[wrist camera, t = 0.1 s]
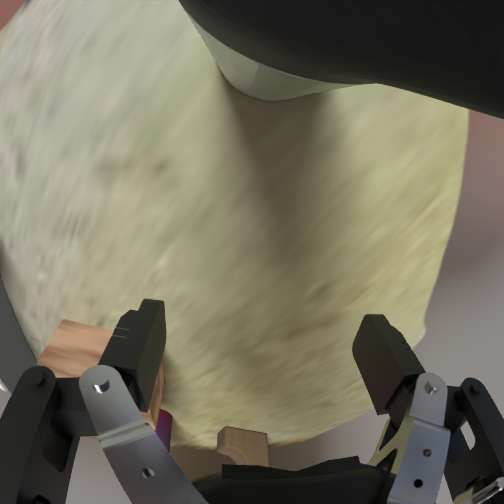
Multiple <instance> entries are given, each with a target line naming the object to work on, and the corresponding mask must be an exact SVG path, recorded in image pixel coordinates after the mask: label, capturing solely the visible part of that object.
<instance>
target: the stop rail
mask: <svg viewBox="0 0 504 504" xmlns="http://www.w3.org/2000/svg"><path fill="white" fill-rule="evenodd" d="M33 366H38V365H37V360H36V358H35V356H34V354H33V352H32V351H31V349H30V347H29V345H28V343H27V341H26V338H25V336H24V334H23V332H22V330H21V328H20V326H19V323H18V321H17V319H16V316H15V314H14V312H13V309H12V307H11V304H10V302H9V299H8V296H7V294H6V291H5V288H4V286H3V283H2V280H1V277H0V389H2V390H4V391H5V392H6V394H7V395H8V396H9V397H11V395H12V393H13V391H14V389H15V387H16V385H17V383H18V381H19V379H20V377H21V376H22V374H23V373H24V372H25V371H26V370H27V369H29V368H31V367H33Z"/></svg>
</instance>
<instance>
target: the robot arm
mask: <svg viewBox="0 0 504 504" xmlns="http://www.w3.org/2000/svg"><path fill="white" fill-rule="evenodd" d="M179 2H180V3H181V5H182V6H183V8H184V10H185V11H186V13H187V15H188V16H189V18H190V19H191V21H192V23H193V24H194V26H195V28H196V29H197V31H198V33H199V34H200V35H201V37H202V39H203V40H204V42H205V44H206V45H207V47H208V49H209V51H210V52H211V54H212V56H213V58H214V59H215V61H216V63H217V65H218V67H219V68H220V70H221V72H222V73H223V75H224V77H225V78H226V80H227V81H228V82H229V83H230V84H231V85H232V86H233V87H235V88H236V89H237V90H239V91H240V92H242V93H244V94H246V95H248V96H250V97H253V98H257V99H261V100H270V101H280V100H287V99H292V98H295V97H299V96H304V95H308V94H313V93H317V92H322V91H327V90H333V89H338V88H344V87H350V86H356V85H363V84H374V83H378V84H383V85H388V86H392V87H396V88H400V89H404V90H407V91H411V92H415V93H418V94H421V95H425V96H428V97H432V98H435V99H438V100H441V101H445V102H448V103H451V104H454V105H457V106H461V107H464V108H468V109H471V110H474V111H477V112H481V113H484V114H488V115H491V116H494V117H498V118H501V119H504V0H179ZM406 342H407V341H406V340H405V338H404V337H403V335H402V334H401V333H400V332H399V331H398V330H397V329H396V328H395V327H393V326H391V325H390V323H389V322H388V320H387V319H386V317H385V316H384V315H383V314H367V315H365V316H364V318H363V320H362V322H361V325H360V327H359V330H358V332H357V335H356V337H355V340H354V342H353V347H352V352H353V357H354V359H355V361H356V364H357V366H358V368H359V371H360V373H361V375H362V378H363V380H364V383H365V385H366V388H367V390H368V392H369V395H370V397H371V400H372V402H373V405H374V407H375V410H376V412H377V415H382V414H387V413H389V416H390V418H389V419H388V420H387V422H386V424H385V427H384V429H383V432H382V434H381V437H380V440H379V442H378V444H377V447H376V449H375V452H374V454H373V456H372V458H371V459H370V461H369V462H368V463H367V464H361V463H360V461H359V457H358V456H353V457H347V458H341V459H334V460H328V461H325V462H322V463H320V464H317V465H314V466H311V467H308V468H305V469H302V470H299V471H288V470H281V469H276V468H271V467H265V466H260V465H229V464H228V465H227V464H222V469H221V472H216V473H211V474H207V475H204V476H201V477H199V478H196V479H194V480H192V481H190V480H189V479H188V478H187V477H186V475H185V474H184V473H183V471H182V470H181V469H180V467H179V466H178V465H177V463H176V462H175V460H174V459H173V458H172V456H171V455H170V453H169V452H168V450H167V449H166V448H165V446H164V445H163V443H162V442H161V440H160V439H159V437H158V435H157V434H156V432H155V431H154V429H153V428H152V427H151V425H150V424H149V423H146V421H145V420H144V418H143V416H142V415H141V413H140V412H145V413H148V410H149V406H150V402H151V398H152V394H153V390H154V386H155V382H156V378H157V374H158V370H159V367H160V363H161V359H162V356H163V352H164V348H165V344H166V322H165V307H164V301H161V300H152V299H144V300H143V301H142V303H141V306H140V308H139V310H138V311H136V310H129V311H128V312H127V313H126V314H124V315H123V316H122V317H121V318H120V320H119V322H118V324H117V326H116V328H115V330H114V332H113V334H112V336H111V338H110V340H109V342H108V344H107V346H106V348H105V350H104V352H103V354H102V356H101V358H100V360H99V363H98V364H97V365H96V366H92V367H90V368H88V369H86V370H85V371H84V372H83V373H82V374H81V376H80V377H70V378H56V376H55V374H54V372H53V371H52V370H51V369H50V368H48V367H46V366H33V367H31V368H29V369H27V370H26V371H25V372H24V373H23V374H22V376H21V377H20V379H19V381H18V383H17V385H16V387H15V389H14V391H13V393H12V395H11V397H10V399H9V401H8V403H7V405H6V408H5V410H4V412H3V414H2V416H1V419H0V504H65V502H66V497H67V491H68V486H69V482H70V477H71V472H72V468H73V463H74V459H75V455H76V451H77V447H78V443H79V440H80V436H99V439H100V440H99V442H100V445H101V447H102V449H103V452H104V454H105V456H106V458H107V460H108V462H109V464H110V465H111V467H112V469H113V471H114V473H115V475H116V477H117V479H118V481H119V482H120V484H121V486H122V488H123V489H124V491H125V493H126V494H127V496H128V498H129V499H130V501H131V502H132V504H436V503H435V501H436V498H437V495H438V491H439V488H440V484H441V479H442V476H443V473H444V475H445V478H446V481H447V485H448V488H449V491H450V494H451V497H452V500H453V504H504V419H503V417H502V415H501V414H500V412H499V410H498V408H497V406H496V405H495V403H494V401H493V399H492V398H491V396H490V394H489V393H488V391H487V389H486V388H485V386H484V385H483V384H482V383H481V382H480V381H479V380H477V379H475V378H466V379H465V380H464V381H463V382H462V384H461V385H460V386H459V387H454V386H447V385H446V383H445V382H444V380H443V379H442V378H441V377H439V376H438V375H436V374H433V373H426V372H425V370H424V368H423V367H422V365H421V364H420V362H419V360H418V359H417V357H416V355H415V354H414V352H413V351H412V350H411V347H410V346H409V344H408V343H406ZM466 421H468V423H469V425H470V427H471V429H472V431H473V434H474V436H475V445H474V447H473V448H472V449H471V450H469V447H468V445H467V443H466V440H465V438H464V436H463V433H462V431H461V429H460V428H461V427H462V426H463V424H464V423H465V422H466Z"/></svg>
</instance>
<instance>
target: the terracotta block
mask: <svg viewBox="0 0 504 504" xmlns="http://www.w3.org/2000/svg"><path fill="white" fill-rule="evenodd" d="M113 332H114V330H109V329H104V328H100V327H95V326H90V325H86V324H81V323H77V322H73V321H69V320H65V319H63V320H62V322H61V324H60V325H59V327H58V328H57V330H56V332H55V333H54V335H53V336H52V338H51V340H50V341H49V343H48V345H47V346H46V348H45V350H44V352H43V353H42V355H41V357H40V359H39V360H38V362H37V365H38V366H46V367H48V368H50V369H51V370H52V371H53V372H54V374H55V376H56V378H70V377H80V376H81V374H82V373H83V372H84V371H85V370H86V369H88V368H90V367H92V366H96V365H97V364H98V363H99V360H100V358H101V356H102V354H103V352H104V350H105V348H106V346H107V344H108V342H109V340H110V338H111V336H112V334H113ZM164 385H165V377H164V369H163V362H162V359H161V363H160V367H159V370H158V374H157V378H156V382H155V386H154V390H153V394H152V398H151V402H150V406H149V410H148V413H145V412H140V413H141V415H142V416H143V418H144V420H145V421H146V423H149V424H150V425H151V427H152V428H153V429H154V430H156V426H157V420H158V415H159V410H160V405H161V400H162V395H163V390H164Z"/></svg>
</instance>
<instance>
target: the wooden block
mask: <svg viewBox="0 0 504 504" xmlns="http://www.w3.org/2000/svg"><path fill="white" fill-rule="evenodd" d="M217 452H219V453H222V454H225V455H228V456H230V457H231V458H232V459H233V460H234V461H235V462H236V464H237V465H260V466H265V467H269V456H268V443H267V434H266V433H260V432H254V431H248V430H242V429H237V428H231V427H225V428H223V429H222V430H221V431H220V432H219V433H218V437H217Z"/></svg>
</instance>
